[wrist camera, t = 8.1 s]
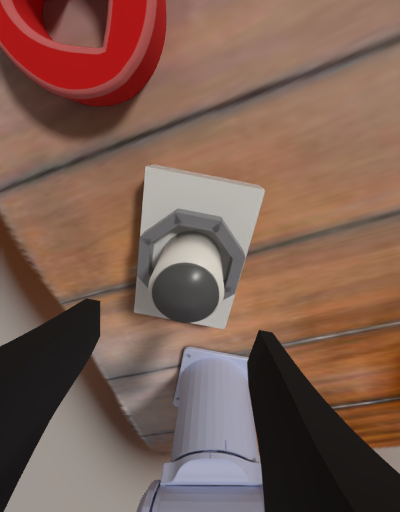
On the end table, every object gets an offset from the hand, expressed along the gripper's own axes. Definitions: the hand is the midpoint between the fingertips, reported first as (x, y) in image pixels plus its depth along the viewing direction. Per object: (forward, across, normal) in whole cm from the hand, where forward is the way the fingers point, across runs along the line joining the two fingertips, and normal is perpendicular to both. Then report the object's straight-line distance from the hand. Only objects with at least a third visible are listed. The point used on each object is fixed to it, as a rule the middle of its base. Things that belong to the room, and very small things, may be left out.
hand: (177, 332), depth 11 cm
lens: (+8, 0, 0) cm, 8 cm away
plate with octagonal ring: (+10, 0, 0) cm, 10 cm away
